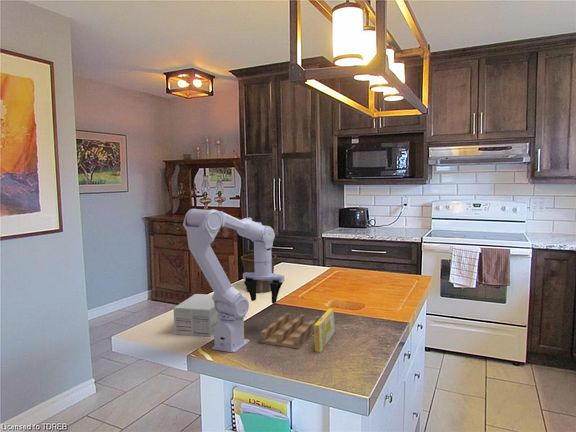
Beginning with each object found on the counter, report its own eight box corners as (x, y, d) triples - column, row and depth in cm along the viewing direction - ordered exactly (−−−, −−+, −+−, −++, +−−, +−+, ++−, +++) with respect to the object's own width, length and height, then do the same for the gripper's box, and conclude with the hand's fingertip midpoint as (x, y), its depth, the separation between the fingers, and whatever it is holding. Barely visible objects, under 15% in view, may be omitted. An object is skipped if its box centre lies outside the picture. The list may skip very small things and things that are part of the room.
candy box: (328, 332, 132) (328, 308, 132) (335, 333, 132) (334, 308, 131) (313, 351, 117) (313, 324, 117) (320, 352, 117) (320, 325, 116)
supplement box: (195, 318, 149) (194, 293, 149) (228, 320, 147) (228, 294, 146) (173, 334, 133) (172, 307, 132) (210, 337, 130) (209, 309, 129)
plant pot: (268, 296, 176) (267, 260, 174) (235, 293, 181) (234, 258, 180) (281, 287, 191) (281, 254, 190) (251, 285, 196) (250, 252, 195)
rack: (298, 348, 119) (298, 337, 119) (260, 342, 124) (260, 331, 124) (319, 326, 138) (319, 316, 137) (286, 322, 143) (286, 312, 142)
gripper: (287, 260, 134) (288, 300, 135) (249, 258, 140) (250, 296, 141) (279, 264, 127) (279, 306, 129) (239, 261, 133) (240, 301, 134)
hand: (263, 301), depth 134 cm, fingers open, 7 cm apart
